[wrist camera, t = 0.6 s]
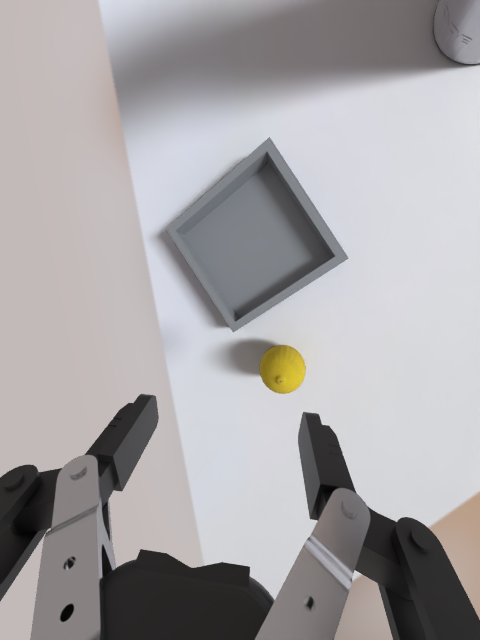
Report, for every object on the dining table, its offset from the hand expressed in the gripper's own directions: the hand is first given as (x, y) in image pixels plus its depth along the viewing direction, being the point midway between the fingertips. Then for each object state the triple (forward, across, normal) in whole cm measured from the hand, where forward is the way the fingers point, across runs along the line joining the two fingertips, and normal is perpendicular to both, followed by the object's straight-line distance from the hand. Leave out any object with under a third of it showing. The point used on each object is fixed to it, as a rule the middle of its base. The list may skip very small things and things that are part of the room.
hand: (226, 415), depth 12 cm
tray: (+23, 0, -7) cm, 24 cm away
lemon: (+19, -6, +8) cm, 21 cm away
